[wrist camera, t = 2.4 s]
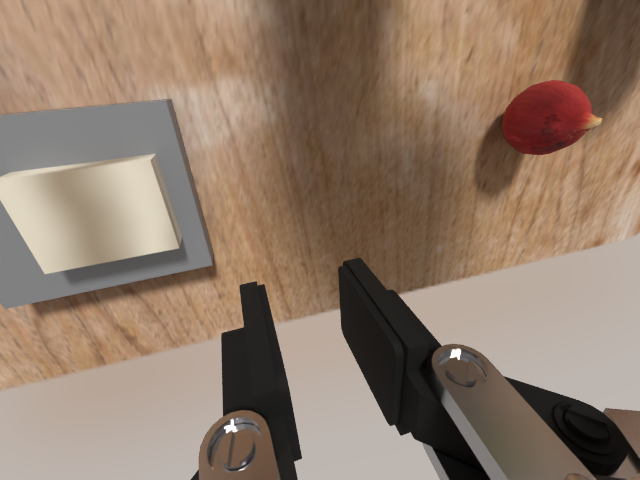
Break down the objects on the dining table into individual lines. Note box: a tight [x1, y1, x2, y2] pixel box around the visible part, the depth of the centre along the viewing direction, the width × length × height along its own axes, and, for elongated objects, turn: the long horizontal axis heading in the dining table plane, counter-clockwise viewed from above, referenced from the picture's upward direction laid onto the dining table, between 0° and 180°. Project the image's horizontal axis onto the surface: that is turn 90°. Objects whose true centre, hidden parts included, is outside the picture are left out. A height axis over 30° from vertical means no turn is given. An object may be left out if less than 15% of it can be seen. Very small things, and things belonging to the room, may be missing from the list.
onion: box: [502, 80, 602, 155], centre depth 26 cm, size 6×6×8 cm
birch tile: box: [0, 154, 182, 274], centre depth 20 cm, size 8×6×2 cm
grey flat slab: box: [0, 99, 213, 309], centre depth 21 cm, size 14×12×2 cm
